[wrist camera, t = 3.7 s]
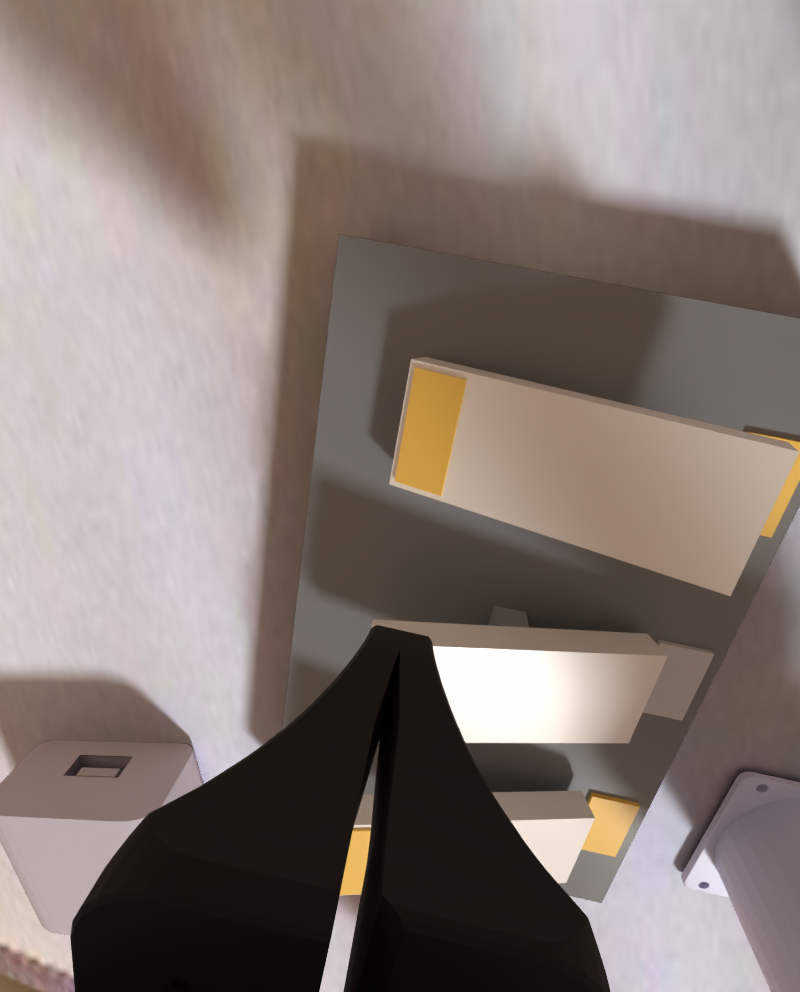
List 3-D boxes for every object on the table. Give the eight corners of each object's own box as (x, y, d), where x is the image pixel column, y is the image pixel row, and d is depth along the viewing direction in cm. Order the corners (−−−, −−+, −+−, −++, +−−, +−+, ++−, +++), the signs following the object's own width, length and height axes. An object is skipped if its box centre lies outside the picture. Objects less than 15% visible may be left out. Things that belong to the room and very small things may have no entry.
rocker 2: (647, 633, 19) (669, 658, 18) (612, 717, 20) (630, 745, 19) (372, 619, 17) (377, 646, 16) (355, 714, 18) (358, 744, 17)
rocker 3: (581, 790, 22) (596, 820, 21) (554, 854, 23) (567, 885, 22) (340, 794, 20) (342, 828, 19) (328, 864, 21) (329, 899, 20)
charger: (115, 911, 35) (43, 735, 30) (249, 921, 34) (199, 740, 28) (66, 1001, 31) (-29, 813, 25) (217, 1016, 29) (151, 822, 24)
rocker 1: (788, 441, 13) (800, 452, 12) (724, 577, 15) (730, 598, 14) (426, 356, 17) (409, 359, 15) (404, 474, 18) (387, 485, 17)
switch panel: (819, 327, 18) (918, 337, 14) (587, 841, 28) (608, 931, 24) (357, 242, 19) (329, 229, 15) (289, 774, 28) (261, 851, 24)
